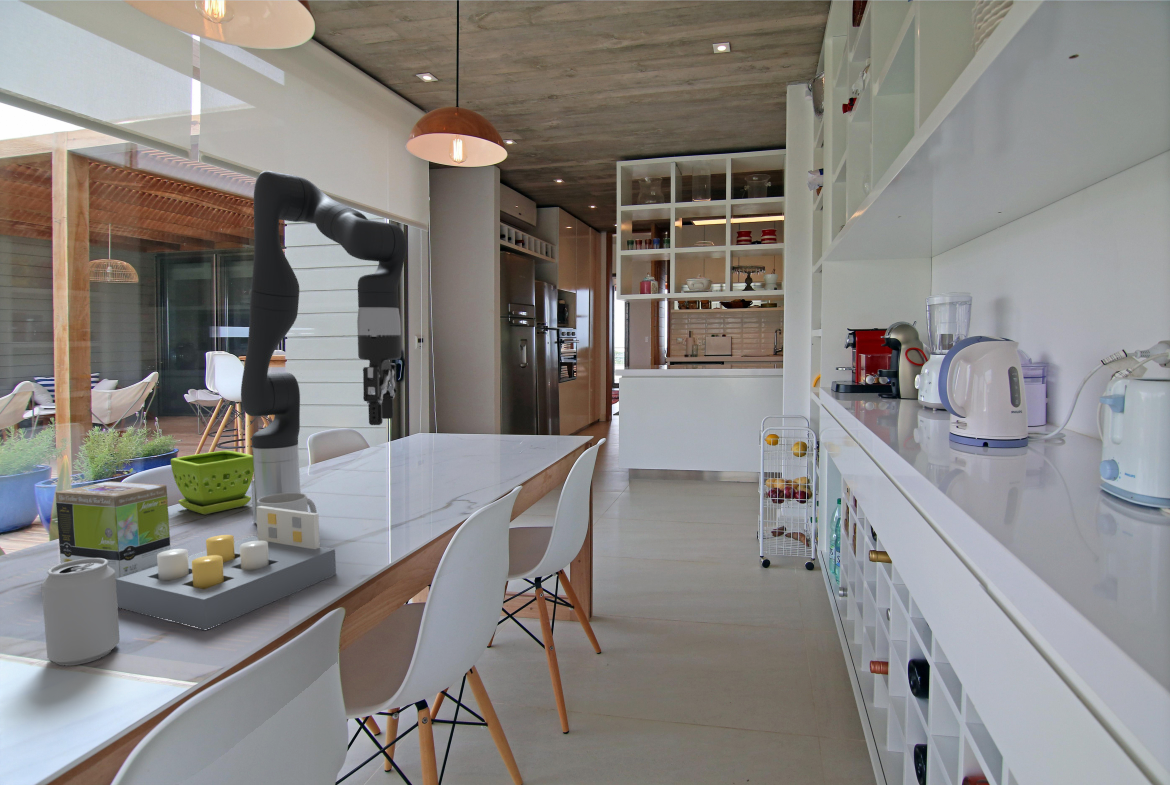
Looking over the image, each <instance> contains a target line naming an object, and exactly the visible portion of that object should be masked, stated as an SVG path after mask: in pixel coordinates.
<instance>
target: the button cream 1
mask: <svg viewBox="0 0 1170 785" xmlns="http://www.w3.org/2000/svg"><path fill="white" fill-rule="evenodd" d="M188 553H189V552H188V549H186V548H173V549H171V550H167V551H163V552H161V553H159V554H157V562H158V577H159V580H164V581H171V580H174V579H177V578H180V577H183V576H186V575H189V566H188V556H189V554H188Z"/></svg>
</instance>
